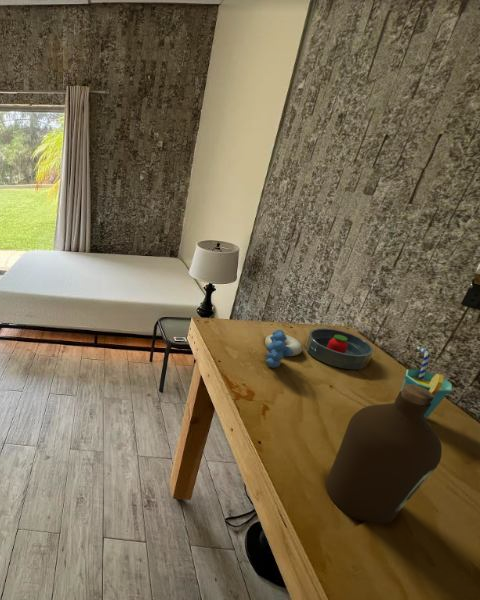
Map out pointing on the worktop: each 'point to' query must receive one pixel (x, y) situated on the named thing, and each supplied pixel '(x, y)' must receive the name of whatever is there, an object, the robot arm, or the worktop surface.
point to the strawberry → (338, 343)
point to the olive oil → (384, 457)
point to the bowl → (351, 359)
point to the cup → (428, 382)
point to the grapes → (277, 349)
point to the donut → (288, 344)
